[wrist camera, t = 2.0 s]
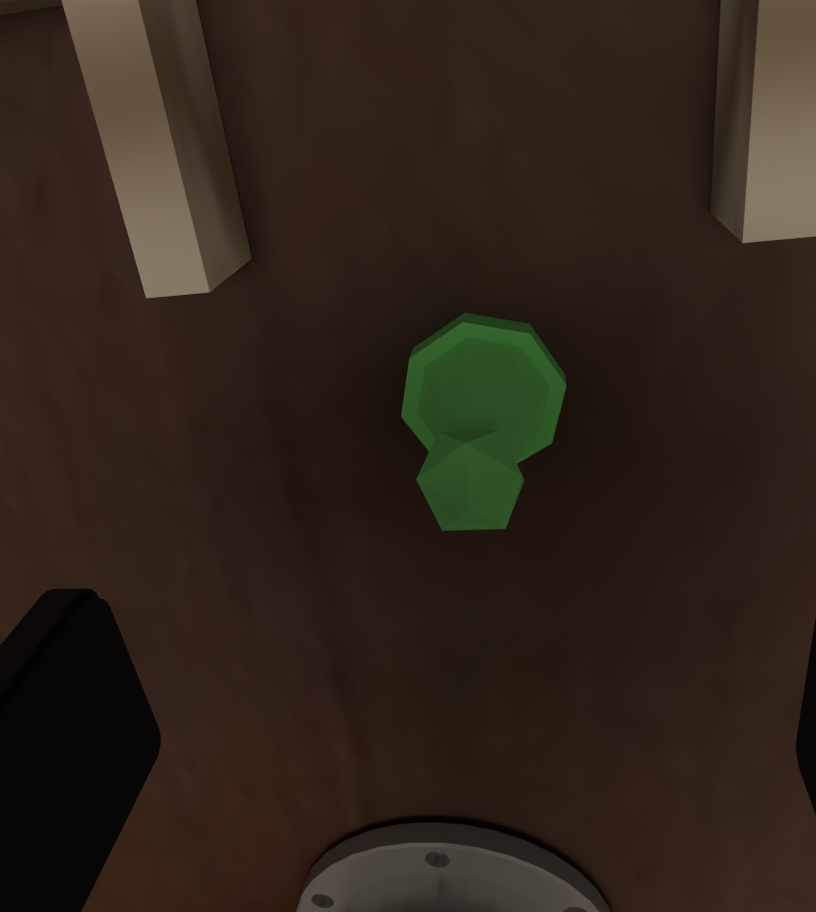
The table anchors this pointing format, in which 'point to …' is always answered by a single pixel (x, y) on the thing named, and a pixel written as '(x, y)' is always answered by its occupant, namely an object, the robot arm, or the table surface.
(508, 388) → the game piece
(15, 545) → the table surface
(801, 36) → the bent track
